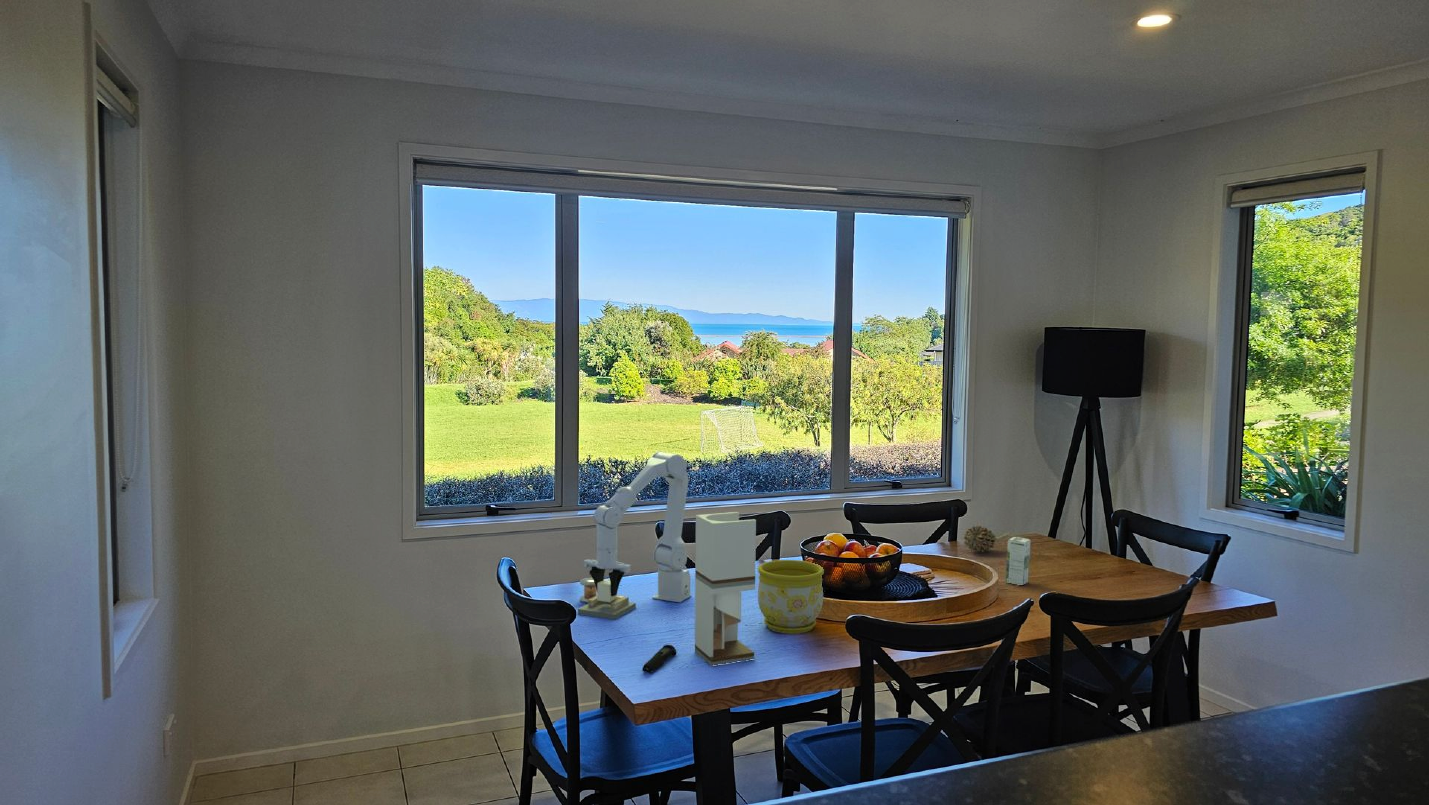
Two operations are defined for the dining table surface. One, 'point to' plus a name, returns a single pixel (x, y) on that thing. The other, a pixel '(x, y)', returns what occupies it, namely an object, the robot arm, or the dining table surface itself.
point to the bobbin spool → (588, 589)
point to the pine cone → (981, 538)
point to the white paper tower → (722, 584)
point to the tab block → (604, 591)
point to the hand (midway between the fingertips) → (607, 594)
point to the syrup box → (1018, 561)
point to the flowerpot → (790, 595)
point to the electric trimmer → (659, 658)
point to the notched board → (607, 608)
